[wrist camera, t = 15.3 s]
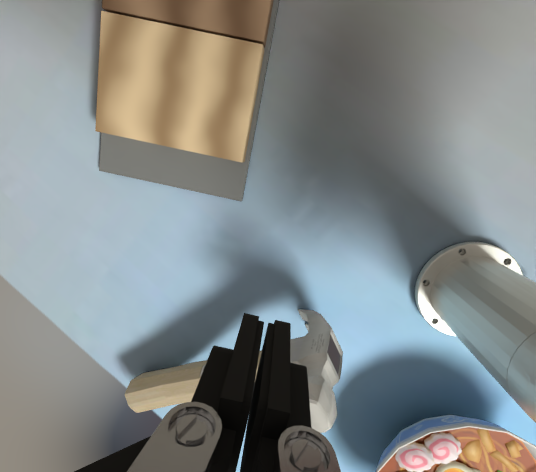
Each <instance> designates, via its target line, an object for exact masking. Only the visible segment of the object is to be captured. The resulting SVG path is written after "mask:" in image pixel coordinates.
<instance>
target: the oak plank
mask: <svg viewBox="0 0 536 472" xmlns="http://www.w3.org/2000/svg"><path fill="white" fill-rule="evenodd" d="M263 56H264V47H263V44H258V43H253V42H249V41H244V40H239V39H234V38H230V37H225V36H220V35H215V34H210V33H206V32H201V31H196V30H191V29H187V28H182V27H177V26H172V25H167V24H163V23H158V22H153V21H148V20H144V19H139V18H134V17H129V16H124V15H120V14H115V13H110V12H105V11H101V28H100V49H99V69H98V90H97V111H96V131H97V132H102V133H107V134H111V135H116V136H121V137H125V138H130V139H135V140H139V141H144V142H149V143H153V144H158V145H163V146H167V147H172V148H176V149H181V150H186V151H190V152H195V153H200V154H204V155H209V156H214V157H218V158H223V159H228V160H232V161H237V162H245V156H246V151H247V145H248V140H249V134H250V128H251V123H252V117H253V112H254V106H255V101H256V95H257V89H258V84H259V78H260V73H261V67H262V61H263Z"/></svg>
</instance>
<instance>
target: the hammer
mask: <svg viewBox="0 0 536 472" xmlns="http://www.w3.org/2000/svg"><path fill="white" fill-rule="evenodd" d="M298 311H299V313H300V315H301V317H302V319H303V320H305V321H307V322H308V324H305V326H306V328H307V330H308V333H307V335H306V336H304V337H300V338H295V339H291V340H290V363H295V364H299V365H304V366H306V367H307V374H308V388H309V401H310V414H311V427H312V429H314V430H316V431H318V432H320V433H322V432H326V431H328V430H329V429H330V428H332V426H333V424H334V422H335V419H336V417H337V409H336V400H335V396H334V392H333V390H332V389H333V386H334V385H335V384H336V383H337V382H338V381H339V380H340V375H341V368H342V355H343V351H342V349H341V347H340V345H339V343H338V341H337V339H336V336H335V334H334V332H333V330H332V328H331V326H330V325H329V324H328V323H327V321H326V320H325V319H324V318H323V316H322V315H321V314H319V313H317V312H315V311H313V310H304V309H298ZM261 353H262V351H259V357H258V364H257V370H258V366H259V362H260V357H261ZM206 363H207V360H205V361H199V362H193V363H189V364H185V365H181V366H177V367H172V368H167V369H161V370H156V371H151V372H146V373H142V374H141V375H139V376H137V377H136V378H134V379H132V380H131V381H130V384H129V386H128V388H127V390H126V392H125V397H126V400H127V403H128V405H129V406H130V408H131V409H133V410H134V411H135V412H136V413H139V412H143V411H148V410H152V409H156V408H161V407H165V406H170V405H174V404H181V403H186V402H191V401H192V398H193V395H194V393H195V390H196V388H197V385H198V383H199V380H200V378H201V375H202V373H203V370H204V368H205V365H206ZM257 370H256V375H257ZM255 379H256V377H255Z"/></svg>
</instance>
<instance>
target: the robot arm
mask: <svg viewBox="0 0 536 472" xmlns="http://www.w3.org/2000/svg"><path fill="white" fill-rule="evenodd" d="M459 250H460V251H459ZM424 280H425V281H424ZM423 281H424V282H423ZM415 301H416V305H417V307H418V310H419V312H420V314H421V315H422V316H423V317H424V319H425V320H426V321H427V322H428V323H429V324H430V325H431V326H432V327H433V328H435V329H436V330H438V331H440V332H442V333H445V334H447V335H452V336H457V337H458V338H459V340H460V341H461V342H462V343H463V344H464V345H465V346H466V347H467V348H468V350H469V351H470V352H471V353H472V354H473V355H474V356H475V357H476V358H477V360H478V361H479V362H480V363H481V364H482V365H483V366H484V367H485V368H486V370H487V371H488V372H489V373H490V374H491V375H492V376H493V377H494V378H495V380H496V381H497V382H498V383H499V384H500V385H501V386H502V387H503V388H504V390H505V391H506V392H507V393H508V394H509V395H510V396H511V397H512V398H513V399H514V401H515V402H516V403H517V404H518V405H519V406H520V407H521V408H522V409H523V410H524V411H525V413H526V414H527V415H528V416H529V417H530V418H531V419H533V420H534V421H535V422H536V282H534V281H532V280H530V279H528V278H526V277H525V276H523V274H522V271H521V269H520V266H519V265H518V263H517V262H516V260H515V259H514V258H513V257H512V256H511V255H510V254H509V253H507V252H506V251H504V250H502V249H500V248H499V247H496V246H494V245H491V244H488V243H483V242H464V243H458V244H455V245H452V246H449V247H447V248H445V249H443V250H442V251H440V252H439V253H437V254H436V255H434V256H433V257H432V258H431V259H430V260H429V261H428V262H427V263H426V264H425V266H424V267H423V269H422V270H421V272H420V274H419V276H418V278H417V281H416V286H415ZM258 319H259V316H255V315H250V314H245V313H244V316H243V319H242V323H241V326H240V330H239V333H238V337H237V340H236V344H235V347H234V350H232V349H227V348H223V347H218V346H213V348H212V350H211V353H210V355H209V358H208V360H207V363H206V365H205V368H204V370H203V373H202V375H201V378H200V380H199V383H198V385H197V388H196V390H195V393H194V395H193V398H192V401H191V402H186V403H182V404H179V405H177V406H176V407H174V408H172V409H171V410H170V411H169V412H168V413H167V414H166V415H165V417H164V418H163V420H162V421H161V423H160V424H159V425H158V427H157V429H156V430H155V431H154V433H153V434H152V436H150V437H148V438H146V439H144V440H141V441H139V442H137V443H135V444H133V445H131V446H128V447H126V448H124V449H122V450H120V451H118V452H116V453H113V454H111V455H109V456H107V457H105V458H103V459H100V460H98V461H96V462H94V463H92V464H90V465H88V466H86V467H83V468H81V469H79V470H77V471H75V472H235V471H236V467H237V463H238V459H239V454H240V450H241V446H242V442H243V437H244V433H245V429H246V424H247V420H248V424H247V431H246V437H245V443H244V450H243V456H242V462H241V469H240V472H341V470H340V467H339V464H338V460H337V457H336V454H335V451H334V449H333V447H332V445H331V444H330V442H329V441H328V440H327V439H326V437H324V436H323V435H322V434H321V433H320V432H318V431H316V430H314V429H312V427H311V414H310V401H309V388H308V374H307V367H306V366H304V365H299V364H295V363H290V323H286V322H282V321H277V320H275V322H274V324H272V323H268V327H267V332H266V336H265V340H264V345H263V349H262V353H261V357H260V362H259V366H258V370H257V364H258V357H259V351H260V344H261V338H262V332H263V325H264V322H263V321H258ZM256 370H257V375H256ZM255 377H256V379H255ZM249 411H250V412H249ZM248 416H249V418H248Z"/></svg>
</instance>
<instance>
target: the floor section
mask: <svg viewBox="0 0 536 472" xmlns="http://www.w3.org/2000/svg"><path fill="white" fill-rule="evenodd" d="M278 4H279V0H102V8H103V9H104V10H106V11H107V12H110V13H115V14H120V15H124V16H129V17H134V18H139V19H144V20H148V21H153V22H158V23H163V24H167V25H172V26H177V27H182V28H187V29H191V30H196V31H201V32H206V33H210V34H215V35H220V36H225V37H230V38H234V39H239V40H244V41H249V42H253V43H258V44H263V47H264V56H263V61H262V67H261V73H260V78H259V84H258V89H257V95H256V101H255V106H254V112H253V117H252V123H251V128H250V134H249V140H248V145H247V151H246V156H245V162H237V161H232V160H228V159H223V158H218V157H214V156H209V155H204V154H200V153H195V152H190V151H186V150H181V149H176V148H172V147H167V146H163V145H158V144H153V143H149V142H144V141H139V140H135V139H130V138H125V137H121V136H116V135H111V134H107V133H102V132H101V147H100V165H99V171H103V172H108V173H113V174H117V175H122V176H126V177H131V178H136V179H140V180H145V181H150V182H154V183H159V184H163V185H168V186H173V187H177V188H182V189H187V190H191V191H196V192H201V193H205V194H210V195H214V196H219V197H224V198H228V199H233V200H238V201H242V199H243V194H244V188H245V183H246V178H247V172H248V167H249V161H250V156H251V150H252V145H253V140H254V134H255V129H256V123H257V118H258V112H259V107H260V102H261V96H262V91H263V85H264V80H265V75H266V69H267V64H268V58H269V53H270V47H271V42H272V37H273V31H274V26H275V20H276V15H277V9H278Z"/></svg>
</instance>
